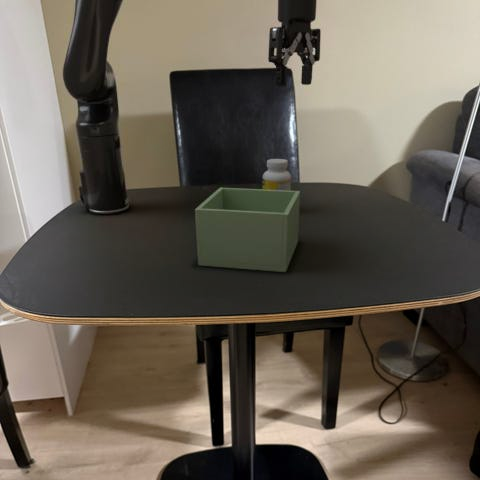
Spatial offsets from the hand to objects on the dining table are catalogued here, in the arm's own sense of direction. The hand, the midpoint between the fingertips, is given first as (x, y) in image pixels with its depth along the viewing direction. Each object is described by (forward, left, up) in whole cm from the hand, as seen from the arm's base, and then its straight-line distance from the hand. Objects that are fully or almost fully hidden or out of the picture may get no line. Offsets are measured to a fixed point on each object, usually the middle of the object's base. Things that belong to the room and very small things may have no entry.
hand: (294, 85), depth 101 cm
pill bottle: (-3, -1, -27) cm, 27 cm away
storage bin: (-3, -29, -27) cm, 40 cm away
